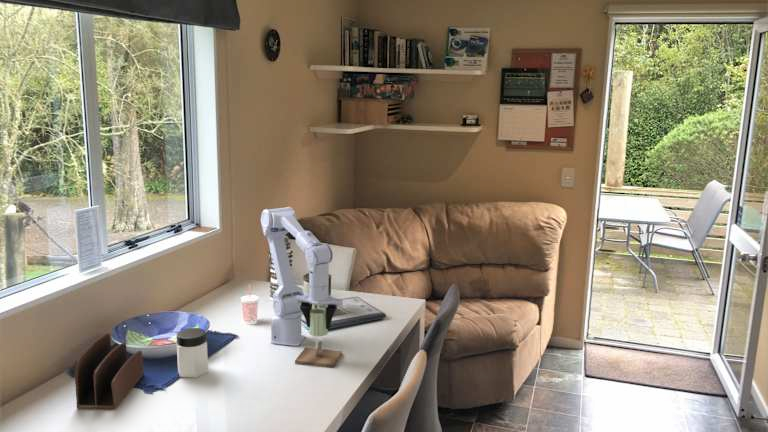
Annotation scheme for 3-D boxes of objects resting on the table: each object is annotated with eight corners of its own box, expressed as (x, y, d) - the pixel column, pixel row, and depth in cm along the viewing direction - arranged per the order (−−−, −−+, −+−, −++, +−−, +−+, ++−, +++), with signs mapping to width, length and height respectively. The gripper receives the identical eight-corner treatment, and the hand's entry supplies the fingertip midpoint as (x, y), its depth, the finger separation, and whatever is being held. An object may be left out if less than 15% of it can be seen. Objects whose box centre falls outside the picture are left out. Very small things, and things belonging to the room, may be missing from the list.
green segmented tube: (307, 335, 187) (307, 313, 185) (313, 328, 192) (313, 307, 190) (324, 337, 186) (324, 315, 184) (329, 330, 191) (329, 309, 189)
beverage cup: (237, 323, 217) (236, 285, 214) (248, 317, 222) (247, 280, 220) (252, 326, 215) (251, 288, 212) (262, 320, 220) (261, 283, 217)
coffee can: (315, 305, 236) (315, 270, 233) (336, 311, 231) (337, 275, 228) (297, 313, 228) (297, 276, 225) (319, 319, 222) (319, 282, 220)
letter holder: (76, 409, 158) (71, 358, 156) (109, 374, 178) (106, 328, 175) (115, 410, 158) (111, 359, 156) (144, 375, 178) (141, 328, 175)
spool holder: (295, 363, 187) (294, 346, 186) (305, 350, 197) (305, 333, 195) (333, 367, 185) (333, 350, 184) (341, 354, 194) (342, 337, 193)
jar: (210, 375, 178) (208, 336, 176) (180, 380, 175) (178, 341, 172) (204, 363, 186) (203, 325, 183) (176, 367, 182) (174, 329, 180)
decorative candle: (291, 302, 239) (290, 240, 234) (267, 302, 239) (266, 239, 234) (294, 295, 248) (294, 234, 242) (271, 294, 248) (270, 233, 243)
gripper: (291, 286, 183) (291, 329, 186) (338, 290, 181) (338, 334, 183) (299, 279, 190) (299, 321, 193) (344, 283, 187) (344, 325, 190)
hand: (318, 327), depth 189 cm, fingers closed on green segmented tube, 5 cm apart
